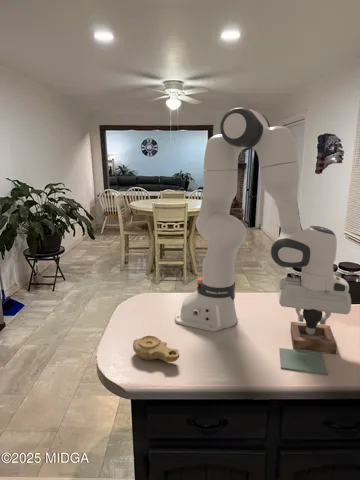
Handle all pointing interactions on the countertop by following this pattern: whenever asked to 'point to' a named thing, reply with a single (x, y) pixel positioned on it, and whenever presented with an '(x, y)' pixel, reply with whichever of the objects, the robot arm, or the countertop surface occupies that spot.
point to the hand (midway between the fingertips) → (311, 322)
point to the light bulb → (311, 319)
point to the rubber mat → (302, 361)
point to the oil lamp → (154, 349)
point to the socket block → (313, 344)
